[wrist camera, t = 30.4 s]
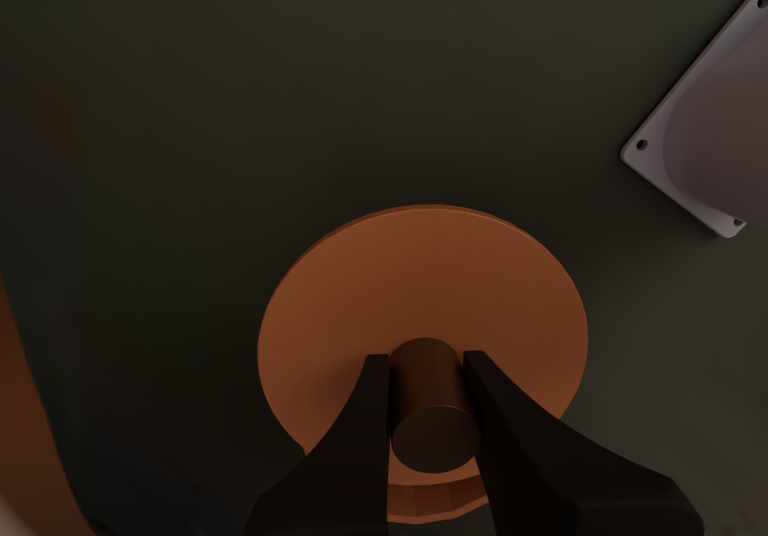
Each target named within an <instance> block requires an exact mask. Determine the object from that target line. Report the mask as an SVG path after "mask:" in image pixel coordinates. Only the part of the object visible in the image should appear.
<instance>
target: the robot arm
mask: <svg viewBox="0 0 768 536" xmlns="http://www.w3.org/2000/svg"><path fill="white" fill-rule="evenodd" d="M757 2H758V0H745V2H744V3H743V4H742V5H741V6H740V7H739V9H738V10H737V11H736V12H735V13H734V15H733V16H732V17H731V18H730V19H729V21H728V22H727V23H726V24H725V25H724V27H723V28H722V29H721V30H720V31H719V33H718V34H717V35H716V36H715V37H714V39H713V40H712V41H711V42H710V43H709V45H708V46H707V47H706V48H705V49H704V51H703V52H702V53H701V54H700V55H699V57H698V58H697V59H696V60H695V61H694V63H693V64H692V65H691V66H690V67H689V69H688V70H687V71H686V72H685V73H684V75H683V76H682V77H681V78H680V79H679V81H678V82H677V83H676V84H675V85H674V87H673V88H672V89H671V90H670V91H669V93H668V94H667V95H666V96H665V97H664V99H663V100H662V101H661V102H660V103H659V105H658V106H657V107H656V108H655V109H654V111H653V112H652V113H651V114H650V115H649V117H648V118H647V119H646V120H645V121H644V123H643V124H642V125H641V126H640V127H639V129H638V130H637V131H636V132H635V133H634V135H633V136H632V137H631V138H630V139H629V141H628V142H627V143H626V144H625V145H624V147H623V148H622V150H621V152H620V157H621V160H622V161H623V162H624V163H625V164H627V165H628V166H629V167H631V168H632V169H633V170H635V171H636V172H637V173H638V174H640V175H641V176H642V177H644V178H645V179H646V180H648V181H649V182H650V183H652V184H653V185H654V186H655V187H657V188H658V189H659V190H661V191H662V192H663V193H665V194H666V195H667V196H669V197H670V198H671V199H672V200H674V201H675V202H676V203H678V204H679V205H680V206H682V207H683V208H684V209H685V210H687V211H688V212H689V213H691V214H692V215H693V216H695V217H696V218H697V219H699V220H700V221H701V222H702V223H704V224H705V225H706V226H708V227H709V228H710V229H712V230H713V231H714V232H716V233H717V234H718V235H720V236H722V237H724V238H730V237H733V236H734V235H736V234H737V233H738V232H739V231H740V230H741V229H742V228H743V227H744V226H745V225H746V224H747V223H748V224H750V225H753V226H755V227H757V228H760V229H762V230H765V231H767V232H768V0H763V2H762V5H761V7H759V8H758V6H757ZM640 140H643V145H642V147H641V148H639V149H637V148H636V145H637V143H638V141H640ZM735 218H736V219H738V220H737V221H736V222H735V223H733V222H734V220H735ZM462 370H463V373H464V376H465V379H466V383H467V386H468V389H469V393H470V396H471V399H472V403H473V406H474V409H475V412H476V416H477V419H478V422H479V426H480V429H481V443H480V447H479V449H478V451H477V452H476V454H475V455H474V457H475V460H476V463H477V466H478V469H479V472H480V475H481V478H482V481H483V484H484V488H485V491H486V494H487V497H488V501H489V504H490V508H491V512H492V517H493V521H494V526H495V530H496V535H497V536H704V531H705V527H704V523H703V519H702V518H701V516H700V515H699V514H698V512H697V511H696V509H695V508H694V507H693V505H692V504H691V502H690V501H689V499H688V498H687V497H686V495H685V494H684V493H683V491H682V490H681V489H680V488H679V487H678V485H677V484H676V483H675V482H674V481H673V480H672V478H669V477H667V476H665V475H662V474H660V473H658V472H655V471H653V470H650V469H648V468H646V467H643V466H641V465H638V464H636V463H634V462H632V461H630V460H628V459H625V458H623V457H621V456H619V455H617V454H615V453H613V452H611V451H609V450H608V449H606V448H604V447H602V446H600V445H598V444H597V443H595V442H593V441H591V440H590V439H588V438H586V437H585V436H583V435H581V434H580V433H578V432H577V431H575V430H573V429H572V428H570V427H569V426H567V425H566V424H564V423H563V422H562V421H560V420H559V419H557V418H556V417H555V416H553V415H552V414H550V413H549V412H548V411H547V410H545V409H544V408H543V407H541V406H540V405H539V404H538V403H537V402H535V401H534V400H533V399H532V398H531V397H529V396H528V395H527V394H526V393H525V392H524V391H523V390H522V389H521V388H520V387H519V386H518V385H517V384H515V383H514V382H513V381H512V380H511V379H510V378H509V377H508V376H507V375H506V374H505V373H504V372H503V371H502V370H501V369H500V368H499V366H498V365H497V364H496V363H495V362H494V361H493V360H492V359H491V358H490V357H489V356H488V355H487V354H486V353H485V352H484V351H483V350H470V351H463V369H462ZM389 394H390V393H389V362H388V354H369V355H367V356H366V357H365V362H364V365H363V368H362V371H361V373H360V376H359V378H358V381H357V383H356V385H355V387H354V389H353V391H352V393H351V395H350V397H349V399H348V400H347V402H346V404H345V405H344V407H343V409H342V410H341V412H340V414H339V415H338V417H337V418H336V420H335V421H334V423H333V424H332V426H331V427H330V428H329V430H328V431H327V432H326V434H325V435H324V436H323V437H322V439H321V440H320V441H319V442H318V443H317V445H316V446H315V447H314V448H313V449H312V450H311V451H310V453H309V454H308V455H307V456H306V457H305V458H304V459H303V460H302V461H301V462H300V463H299V464H298V465H297V466H296V467H295V468H293V469H292V470H291V471H290V472H289V473H288V474H287V475H286V476H285V477H284V478H283V479H281V480H280V481H279V482H278V483H276V484H275V485H274V486H273V487H271V488H270V489H269V490H268V491H266V492H265V493H264V494H262V495H261V496H260V497H259V498H258V500H257V501H256V503H255V505H254V507H253V510H252V512H251V514H250V516H249V518H248V521H247V523H246V525H245V528H244V531H243V533H242V536H388V519H387V492H388V474H389V455H390V436H391V435H390V416H389Z"/></svg>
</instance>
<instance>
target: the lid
mask: <svg viewBox="0 0 768 536" xmlns="http://www.w3.org/2000/svg"><path fill="white" fill-rule="evenodd" d="M470 350H483V351H484V352H485V353H486V354H487V355H488V356H489V357H490V358H491V359H492V360H493V361H494V362H495V363H496V364H497V365H498V366H499V368H500V369H501V370H502V371H503V372H504V373H505V374H506V375H507V376H508V377H509V378H510V379H511V380H512V381H513V382H514V383H515V384H517V385H518V386H519V387H520V388H521V389H522V390H523V391H524V392H525V393H526V394H527V395H528V396H529V397H531V398H532V399H533V400H534V401H535V402H537V403H538V404H539V405H540V406H541V407H543V408H544V409H545V410H547V411H548V412H549V413H550V414H552V415H553V416H555V417H556V418H557V419H560V417H561V416H562V414H563V413H564V412H565V410H566V409H567V407H568V406H569V404H570V402H571V400H572V399H573V397H574V395H575V393H576V391H577V389H578V386H579V384H580V381H581V378H582V375H583V373H584V368H585V363H586V358H587V350H588V330H587V320H586V315H585V311H584V308H583V304H582V300H581V298H580V296H579V294H578V291H577V289H576V287H575V285H574V283H573V281H572V280H571V278H570V277H569V275H568V274H567V272H566V271H565V269H564V268H563V266H562V265H561V264H560V263H559V262H558V261H557V260H556V258H555V257H554V256H553V255H552V254H551V253H550V252H549V251H548V250H547V249H546V248H545V247H544V246H543V245H542V244H541V243H539V242H538V241H537V240H536V239H534V238H533V237H532V236H531V235H529V234H528V233H527V232H525V231H523V230H521V229H520V228H518V227H516V226H515V225H513V224H511V223H509V222H508V221H505V220H503V219H500V218H498V217H495V216H493V215H490V214H488V213H484V212H481V211H477V210H473V209H469V208H465V207H457V206H449V205H440V204H437V205H410V206H403V207H396V208H390V209H386V210H383V211H379V212H375V213H371V214H368V215H365V216H363V217H361V218H358V219H356V220H353V221H351V222H348V223H346V224H344V225H342V226H341V227H339V228H337V229H335V230H334V231H332V232H330V233H329V234H327V235H325V236H324V237H322V238H321V239H320V240H319V241H317V242H316V243H315V244H313V245H312V246H311V247H309V248H308V249H307V250H306V251H305V252H304V253H303V254H302V255H301V256H300V257H299V258H298V259H297V260H296V261H295V262H294V263H293V264H292V265H291V267H290V268H289V269H288V271H287V272H286V274H285V275H284V276H283V278H282V279H281V280H280V282H279V284H278V286H277V287H276V289H275V291H274V293H273V295H272V297H271V299H270V301H269V303H268V306H267V308H266V311H265V314H264V317H263V320H262V323H261V328H260V333H259V339H258V368H259V375H260V380H261V383H262V387H263V390H264V393H265V396H266V399H267V401H268V403H269V405H270V407H271V409H272V411H273V413H274V414H275V416H276V417H277V419H278V420H279V422H280V423H281V425H282V426H283V428H284V429H285V430H286V431H287V432H288V433H289V434H290V435H291V437H292V438H293V439H294V440H295V441H296V442H298V443H299V444H300V445H301V446H302V447H303V448H304V449H306V450H307V451H308V452H309V453H310V451H311V450H312V449H313V448H314V447H315V446H316V445H317V443H318V442H319V441H320V440H321V439H322V437H323V436H324V435H325V434H326V432H327V431H328V430H329V428H330V427H331V426H332V424H333V423H334V421H335V420H336V418H337V417H338V415H339V414H340V412H341V410H342V409H343V407H344V405H345V404H346V402H347V400H348V399H349V397H350V395H351V393H352V391H353V389H354V387H355V385H356V383H357V381H358V378H359V376H360V373H361V371H362V368H363V365H364V362H365V357H366V356H367V355H369V354H388V362H389V393H390V394H389V416H390V435H391V436H390V455H389V474H388V484H398V485H431V484H440V483H448V482H452V481H457V480H461V479H466V478H469V477H472V476H475V475H478V474H480V472H479V469H478V466H477V463H476V460H475V457H474V455H475V454H476V452H477V451H478V449H479V447H480V443H481V429H480V426H479V422H478V419H477V416H476V412H475V409H474V406H473V403H472V399H471V396H470V393H469V389H468V386H467V383H466V379H465V376H464V373H463V370H462V369H463V351H470Z"/></svg>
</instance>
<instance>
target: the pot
mask: <svg viewBox="0 0 768 536" xmlns="http://www.w3.org/2000/svg"><path fill="white" fill-rule="evenodd" d="M304 452H305V454H306V456H307V455H308V454H309V452H308V451H307V450H306V449H304ZM488 502H489V501H488V497H487V494H486V491H485V488H484V484H483V481H482V478H481V475H480V474H478V475H475V476H472V477H469V478H466V479H461V480H457V481H452V482H448V483H440V484H431V485H398V484H388V492H387V519H388V521H389V522H399V523H408V524H422V523H428V522H434V521H440V520H446V519H451V518H456V517H459V516H461V515H463V514H465V513H467V512H469V511H471V510H473V509H475V508H477V507H480V506H482V505H484V504H486V503H488Z"/></svg>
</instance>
